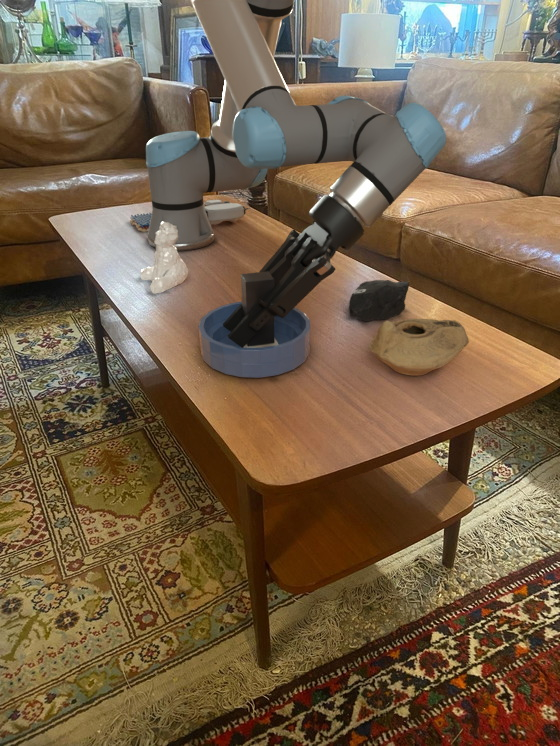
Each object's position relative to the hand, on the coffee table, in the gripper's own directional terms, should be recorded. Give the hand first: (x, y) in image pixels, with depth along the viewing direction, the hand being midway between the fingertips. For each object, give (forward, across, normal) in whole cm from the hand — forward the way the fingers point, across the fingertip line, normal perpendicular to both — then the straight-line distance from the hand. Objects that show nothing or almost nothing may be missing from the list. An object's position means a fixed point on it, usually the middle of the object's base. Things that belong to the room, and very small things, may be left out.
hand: (232, 335), depth 79 cm
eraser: (0, 0, -5) cm, 5 cm away
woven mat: (+7, +74, 0) cm, 74 cm away
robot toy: (-5, +74, -12) cm, 75 cm away
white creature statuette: (+8, +34, +1) cm, 35 cm away
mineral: (-16, +10, -23) cm, 30 cm away
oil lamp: (-15, -8, -22) cm, 27 cm away
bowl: (0, +2, -6) cm, 6 cm away
